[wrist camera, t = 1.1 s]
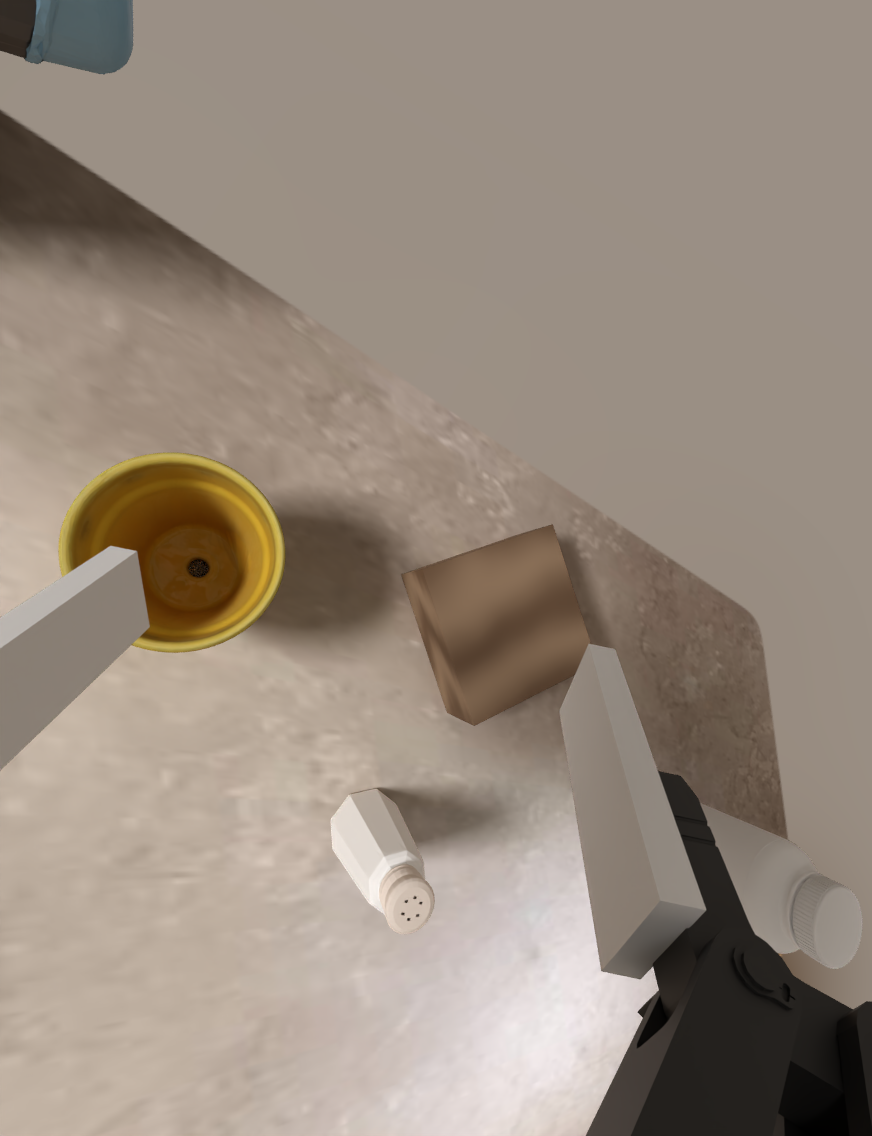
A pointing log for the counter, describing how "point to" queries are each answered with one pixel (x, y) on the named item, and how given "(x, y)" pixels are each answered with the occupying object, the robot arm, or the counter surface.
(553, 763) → the counter surface
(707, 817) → the pill bottle
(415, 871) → the pepper shaker
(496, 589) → the walnut base
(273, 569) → the plant pot
